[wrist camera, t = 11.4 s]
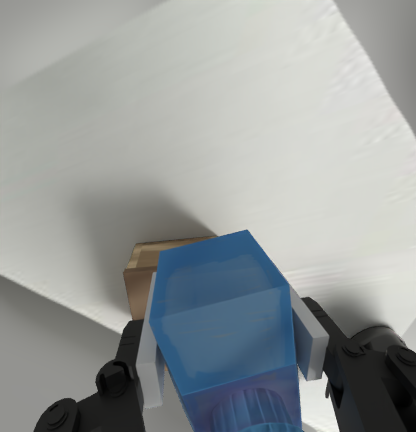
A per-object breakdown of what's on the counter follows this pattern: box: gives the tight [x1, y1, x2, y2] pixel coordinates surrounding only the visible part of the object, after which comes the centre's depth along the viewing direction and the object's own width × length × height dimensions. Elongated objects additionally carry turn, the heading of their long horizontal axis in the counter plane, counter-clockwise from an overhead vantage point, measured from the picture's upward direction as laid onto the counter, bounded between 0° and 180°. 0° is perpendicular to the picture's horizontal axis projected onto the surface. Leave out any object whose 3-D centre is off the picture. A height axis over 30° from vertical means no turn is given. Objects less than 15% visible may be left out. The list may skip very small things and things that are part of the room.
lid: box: [123, 266, 168, 371], centre depth 33 cm, size 19×14×2 cm
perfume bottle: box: [149, 230, 304, 432], centre depth 11 cm, size 6×6×12 cm
